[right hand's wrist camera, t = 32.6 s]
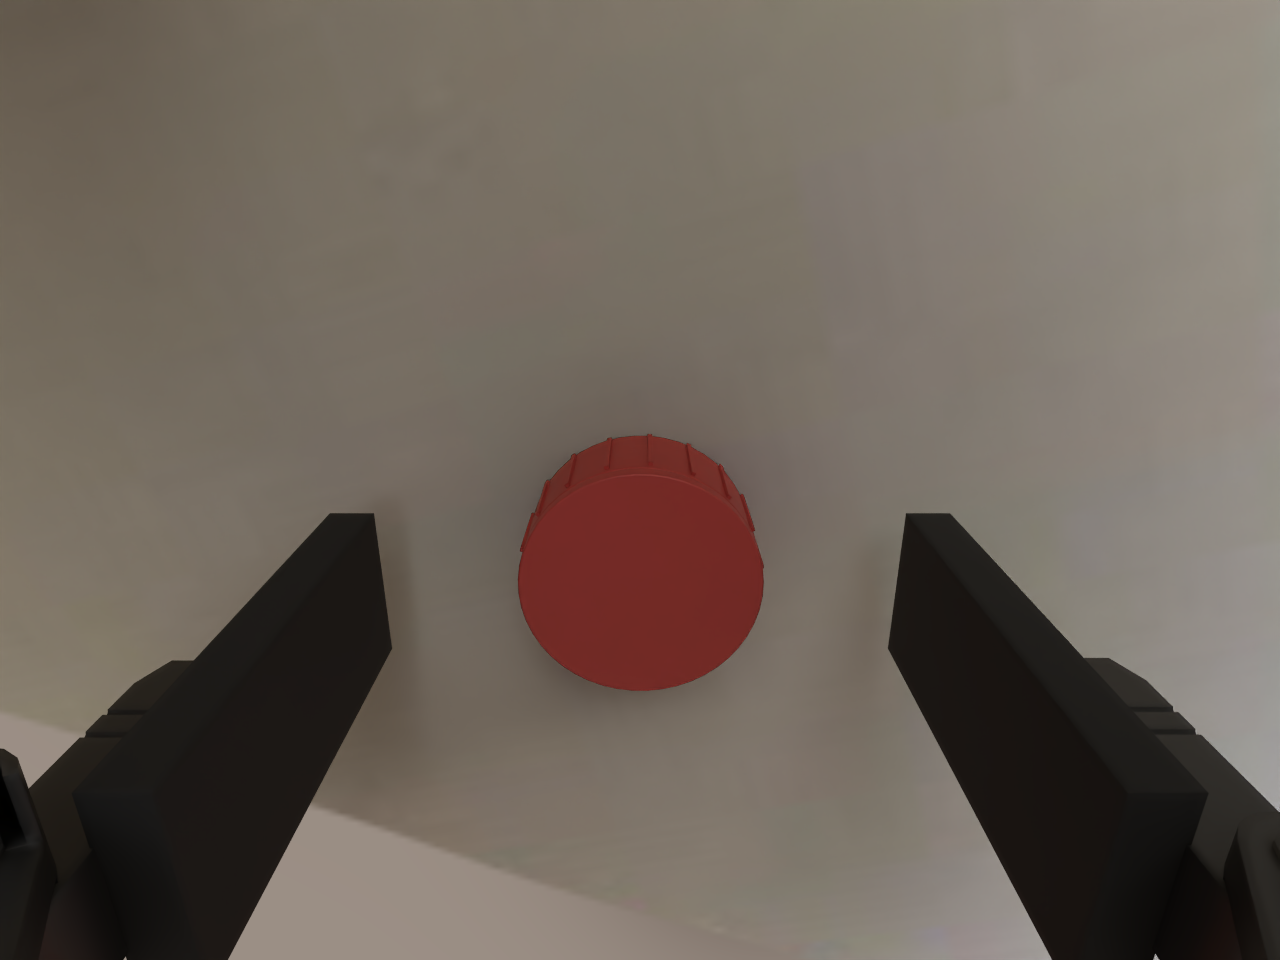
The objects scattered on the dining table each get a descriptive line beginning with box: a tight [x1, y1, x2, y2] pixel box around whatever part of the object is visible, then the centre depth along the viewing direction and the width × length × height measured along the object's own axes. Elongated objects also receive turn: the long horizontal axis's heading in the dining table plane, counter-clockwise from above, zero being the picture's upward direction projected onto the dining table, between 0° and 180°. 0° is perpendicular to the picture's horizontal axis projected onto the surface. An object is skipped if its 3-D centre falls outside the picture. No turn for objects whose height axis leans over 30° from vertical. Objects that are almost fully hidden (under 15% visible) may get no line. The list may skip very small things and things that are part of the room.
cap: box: [518, 434, 764, 691], centre depth 15 cm, size 4×4×2 cm
